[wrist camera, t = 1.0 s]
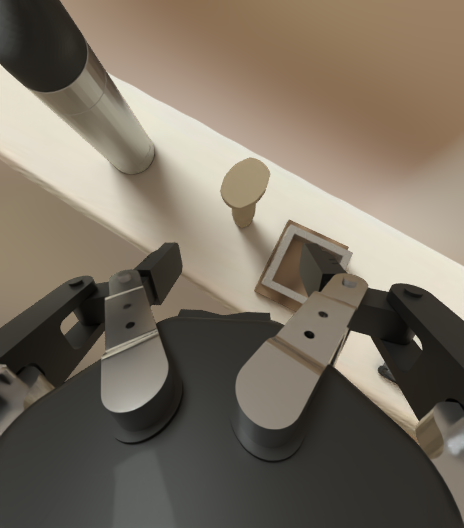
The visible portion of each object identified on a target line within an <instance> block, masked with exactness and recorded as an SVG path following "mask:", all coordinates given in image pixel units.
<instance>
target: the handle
mask: <svg viewBox="0 0 464 528" xmlns="http://www.w3.org/2000/svg"><path fill="white" fill-rule="evenodd" d="M269 177H270V172H269V170H268V168H267V166H266V165H265V164H264V163H263V162H261V161H260V160H258V159H255V158H247V159H245V160H243V161H241V162H239V163H237V164H235V165H234V166H233V167H232V168H231V169H230V171H229V172H228V173H227V174H226V176H225V177H224V180H223V183H222V186H221V190H220V192H221V196H222V198H223V200H224V202H225V203H226V204H227V205H228V206H229V207H231V208H232V216H233V219H234V221H235V224H237V225H239V227H240V228H243V227H245V226H249V225H250V223H251V221H252V219H253V217H254V214H255V207H256V203H257V202H258V201H259V200H260V198H261V197H262V196H263V194H264V193H265V190H266V188H267V184H268V181H269Z"/></svg>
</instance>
